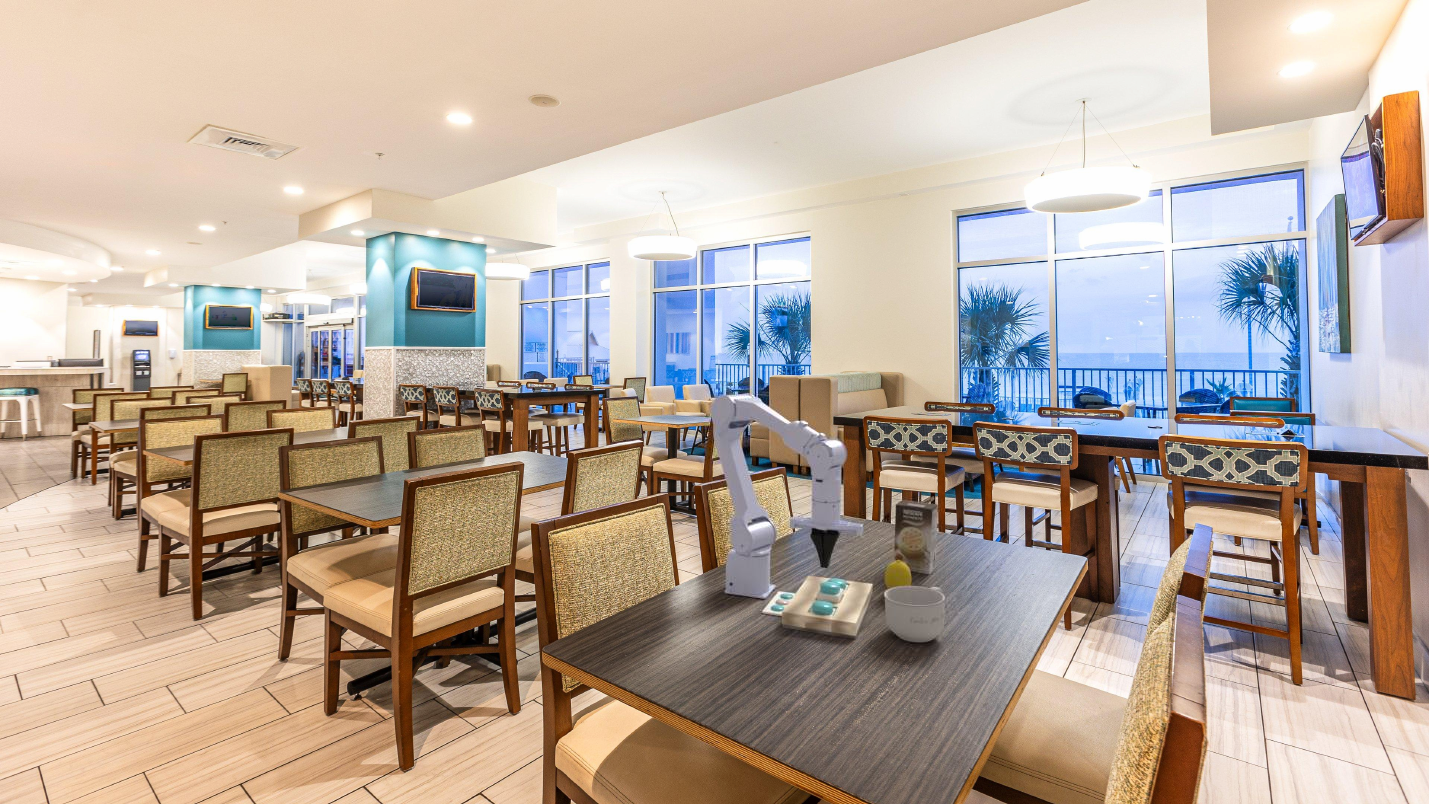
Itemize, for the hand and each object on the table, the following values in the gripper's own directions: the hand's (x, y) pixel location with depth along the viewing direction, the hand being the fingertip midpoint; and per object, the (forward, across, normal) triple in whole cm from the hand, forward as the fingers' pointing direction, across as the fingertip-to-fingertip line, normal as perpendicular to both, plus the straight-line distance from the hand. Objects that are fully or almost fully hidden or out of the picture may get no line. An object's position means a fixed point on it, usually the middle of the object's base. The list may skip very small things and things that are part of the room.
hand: (824, 566), depth 127 cm
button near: (+9, +1, -6) cm, 11 cm away
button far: (+9, +1, +8) cm, 12 cm away
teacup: (+10, +19, -2) cm, 21 cm away
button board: (+10, +1, +1) cm, 10 cm away
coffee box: (+10, +14, +36) cm, 40 cm away
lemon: (+10, +13, +16) cm, 22 cm away
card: (+10, -9, +1) cm, 13 cm away
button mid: (+7, +1, +1) cm, 8 cm away
